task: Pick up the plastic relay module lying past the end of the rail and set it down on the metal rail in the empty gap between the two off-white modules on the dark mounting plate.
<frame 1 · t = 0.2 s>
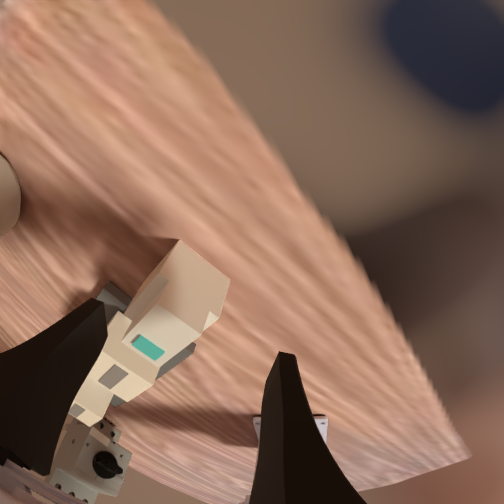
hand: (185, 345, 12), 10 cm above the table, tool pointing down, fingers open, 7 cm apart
relay module: (185, 280, 23), on the table
circuit breaker: (100, 418, 39), on the table
can: (1, 186, 21), on the table
rail plate: (113, 355, 29), on the table
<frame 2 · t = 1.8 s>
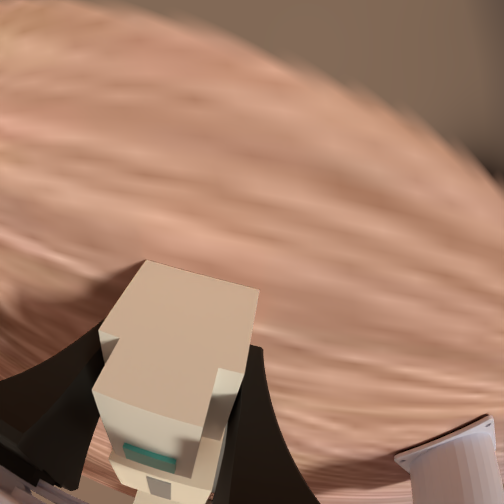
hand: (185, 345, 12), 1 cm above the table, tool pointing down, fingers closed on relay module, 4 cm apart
relay module: (194, 320, 13), on the table, touching gripper
circuit breaker: (217, 502, 31), on the table
rail plate: (180, 444, 21), on the table
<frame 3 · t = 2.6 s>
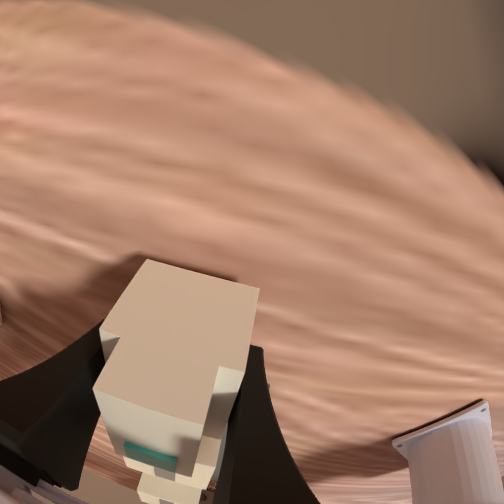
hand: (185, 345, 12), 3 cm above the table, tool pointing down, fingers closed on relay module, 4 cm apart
relay module: (194, 319, 13), point 1 cm above the table, touching gripper
circuit breaker: (218, 493, 32), on the table
rail plate: (183, 430, 22), on the table
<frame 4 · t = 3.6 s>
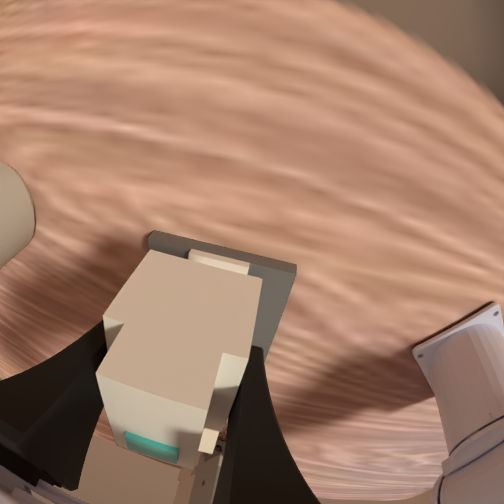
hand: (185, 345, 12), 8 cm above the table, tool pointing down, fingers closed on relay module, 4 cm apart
relay module: (197, 311, 14), point 7 cm above the table, touching gripper
circuit breaker: (234, 446, 34), on the table
can: (11, 200, 20), on the table
rail plate: (206, 344, 24), on the table
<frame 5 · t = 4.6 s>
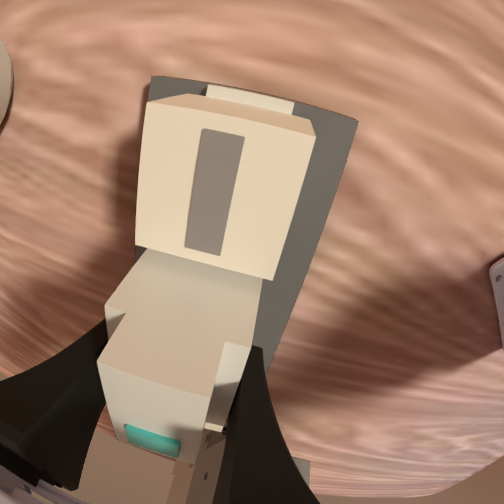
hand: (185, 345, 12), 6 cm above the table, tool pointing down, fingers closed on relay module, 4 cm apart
relay module: (198, 305, 14), point 4 cm above the table, touching gripper
circuit breaker: (244, 430, 28), on the table
rail plate: (219, 260, 18), on the table
when the fingers open (4 cm above the table, at t = 5.4 s): relay module stays where it is, resting on rail plate.
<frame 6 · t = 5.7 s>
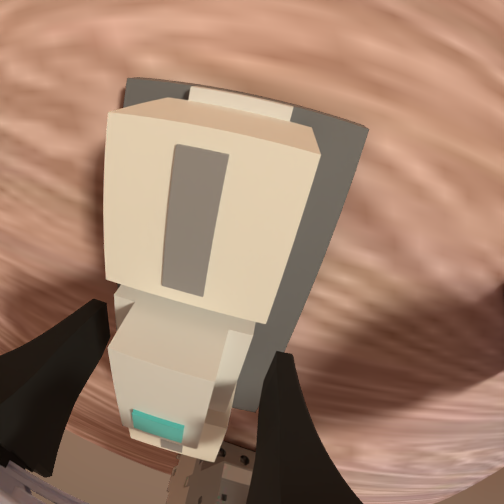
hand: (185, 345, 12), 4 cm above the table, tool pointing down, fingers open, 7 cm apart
relay module: (202, 296, 14), point 1 cm above the table, touching rail plate
circuit breaker: (241, 449, 26), on the table
rail plate: (209, 284, 16), on the table
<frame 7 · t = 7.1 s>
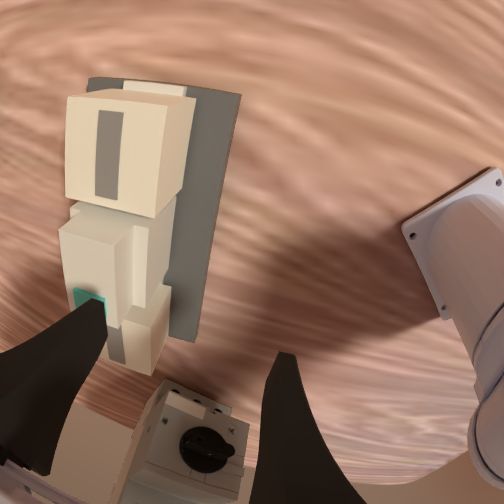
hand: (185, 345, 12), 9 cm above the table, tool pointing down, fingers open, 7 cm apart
relay module: (138, 225, 19), point 1 cm above the table, touching rail plate
circuit breaker: (195, 395, 30), on the table
rail plate: (147, 221, 20), on the table
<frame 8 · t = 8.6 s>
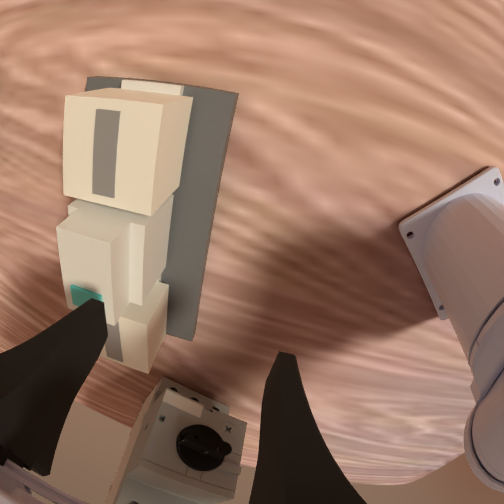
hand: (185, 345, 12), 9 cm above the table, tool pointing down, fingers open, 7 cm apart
relay module: (135, 223, 19), point 1 cm above the table, touching rail plate
circuit breaker: (194, 394, 30), on the table
rail plate: (145, 219, 20), on the table
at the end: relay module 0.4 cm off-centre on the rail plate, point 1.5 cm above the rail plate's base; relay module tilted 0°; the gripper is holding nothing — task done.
